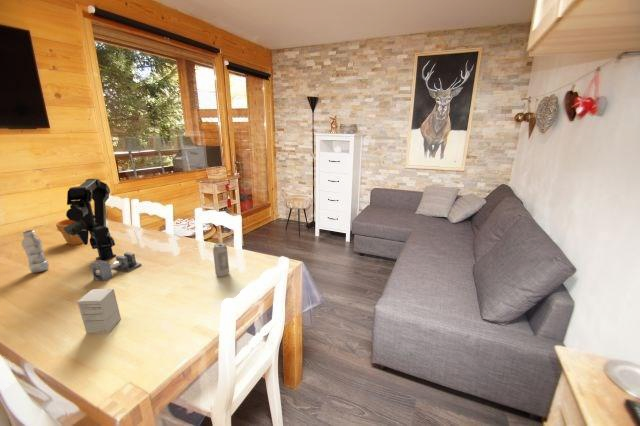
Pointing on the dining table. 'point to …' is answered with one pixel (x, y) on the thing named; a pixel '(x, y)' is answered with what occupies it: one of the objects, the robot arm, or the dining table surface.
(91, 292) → the supplement box
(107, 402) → the dining table surface
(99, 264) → the hollow rectangular metal block
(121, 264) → the shaft stand
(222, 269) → the energy drink can
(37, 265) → the plastic bottle
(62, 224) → the flower pot
